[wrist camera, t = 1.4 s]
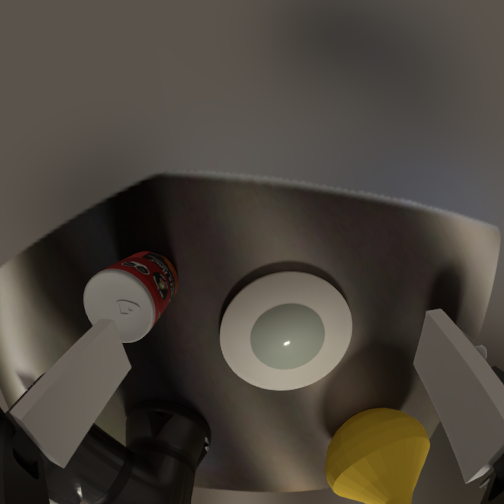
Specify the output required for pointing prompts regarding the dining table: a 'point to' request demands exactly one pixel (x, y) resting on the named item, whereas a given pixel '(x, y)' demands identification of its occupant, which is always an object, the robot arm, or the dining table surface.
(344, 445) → the vase
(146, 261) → the canned food
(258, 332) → the plate
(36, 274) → the dining table surface
